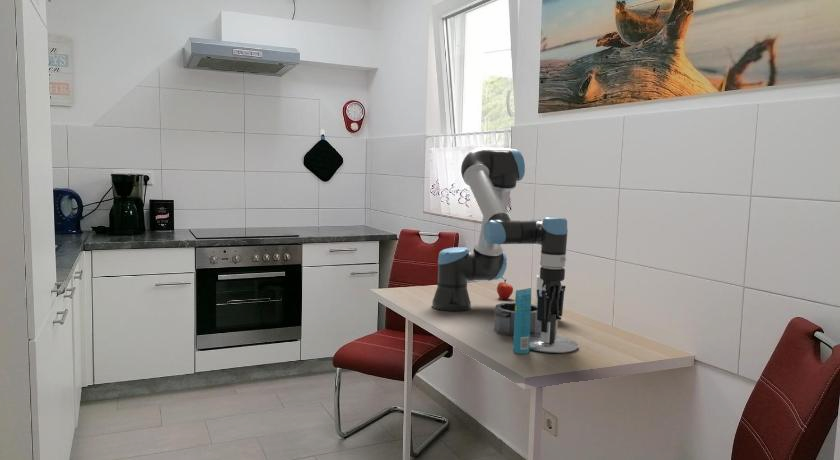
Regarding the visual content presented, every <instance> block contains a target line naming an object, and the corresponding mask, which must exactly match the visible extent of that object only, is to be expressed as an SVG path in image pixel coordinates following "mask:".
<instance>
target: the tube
mask: <svg viewBox="0 0 840 460" xmlns="http://www.w3.org/2000/svg"><path fill="white" fill-rule="evenodd" d="M514 303H515V319H514V336H513V339H512V340H513V343H512V345H513V346H512V351H513V353H515V354H521V355H523V354H525V355H526V354H528V353H530V349H529V346H530V318H531V304H532V288H531V287H528V288H523V289H518V290H515V302H514Z"/></svg>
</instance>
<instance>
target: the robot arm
mask: <svg viewBox="0 0 840 460" xmlns="http://www.w3.org/2000/svg"><path fill="white" fill-rule="evenodd" d="M460 167H461V168H460V171H461V172H460V173H461V176H462V180H463V182H464V183H465V185H467V186H469V187H470V188H469V189H470V190H471V193H472V194H473V197H474V198H475V201H476V203H477V206H478V207H479V210H480V213H481V214H482V222H481V229H480V233H479V239H478V242H476V243H474V245H473V250H469V248H468V247H462V246H461V247H460V246H457V247H455V246H454V247H448V248H444V249H442V250H440V251H439V254H438V258H437V287H436V290H435V293H434V296H433V298H432V305H433V306H432V305H431V306H432V308H434V307H435V308H434V309H436V308H437V310H439V309H440V311H447V312H463V311H468V310H470V309H471V306H472V303H471V299H470V295H469V290H468V281H489V282H490V281H495V280H497V281H498V280H499V279H502V278H501V277H503V276H504V275H505V273H506V270H507V264H508V263H507V259H508V258H507V255H506V253H505V252H504V248H503V247H502V246H501V245H540V246H541V247H540V249H541V250H540V262H539V264H540V266H541V267H540V269H539V274H540V278H541V279H542V280H543V285H542V289H541V290H539V289H538V290H537V296H538V305H537V320H539V321H541V341H542V342H545V343H549V340H550V322H549V317H550V313H555V314H556V322H555V339H554V340H557V335H558V324H559V323H558V320H559V321H560V320H562V317H563V309H564V300H565V299H564V297H565V292H566V285H564V284H562V283H561V282H563V281H564V280H565V276H566V275H565V274H566V269H565V268H564V267H566V261H567V258H566V255H567V254H566V253H567V241H568V231H569V230H568V219H566V217H559V216H545V217H544V218H543V220H541V219H530V220H511V218H510V216H509V213H508V208H509V202H510V197H511V191H512V190H513V189H515V188H516V186H517V183H518V182H519V181H520V182H521V181H522V180H523V179H524V177H525V173H526V164H525V159H524V156H523V154H522V152H521V151H519V149H513V148H509V147H508V148H507V147H506V148H505V147H498V148H497V147H477V148H475V149H473V150H471V151H470V152H467V154H466V155H465V157H464V158H463V160H462V162H461V166H460ZM548 297H549V298H548Z"/></svg>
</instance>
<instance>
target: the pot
mask: <svg viewBox="0 0 840 460" xmlns="http://www.w3.org/2000/svg"><path fill="white" fill-rule="evenodd" d="M514 319H515V302H501V303H497V304H496V305H495V307H494V326H493V327H494V329H493V330H494V331H495V332H496V333H498V334H500V335H504V336H509V337H514ZM530 334H541V321H539V320H537V305H535V304H532V303H531V318H530Z"/></svg>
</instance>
